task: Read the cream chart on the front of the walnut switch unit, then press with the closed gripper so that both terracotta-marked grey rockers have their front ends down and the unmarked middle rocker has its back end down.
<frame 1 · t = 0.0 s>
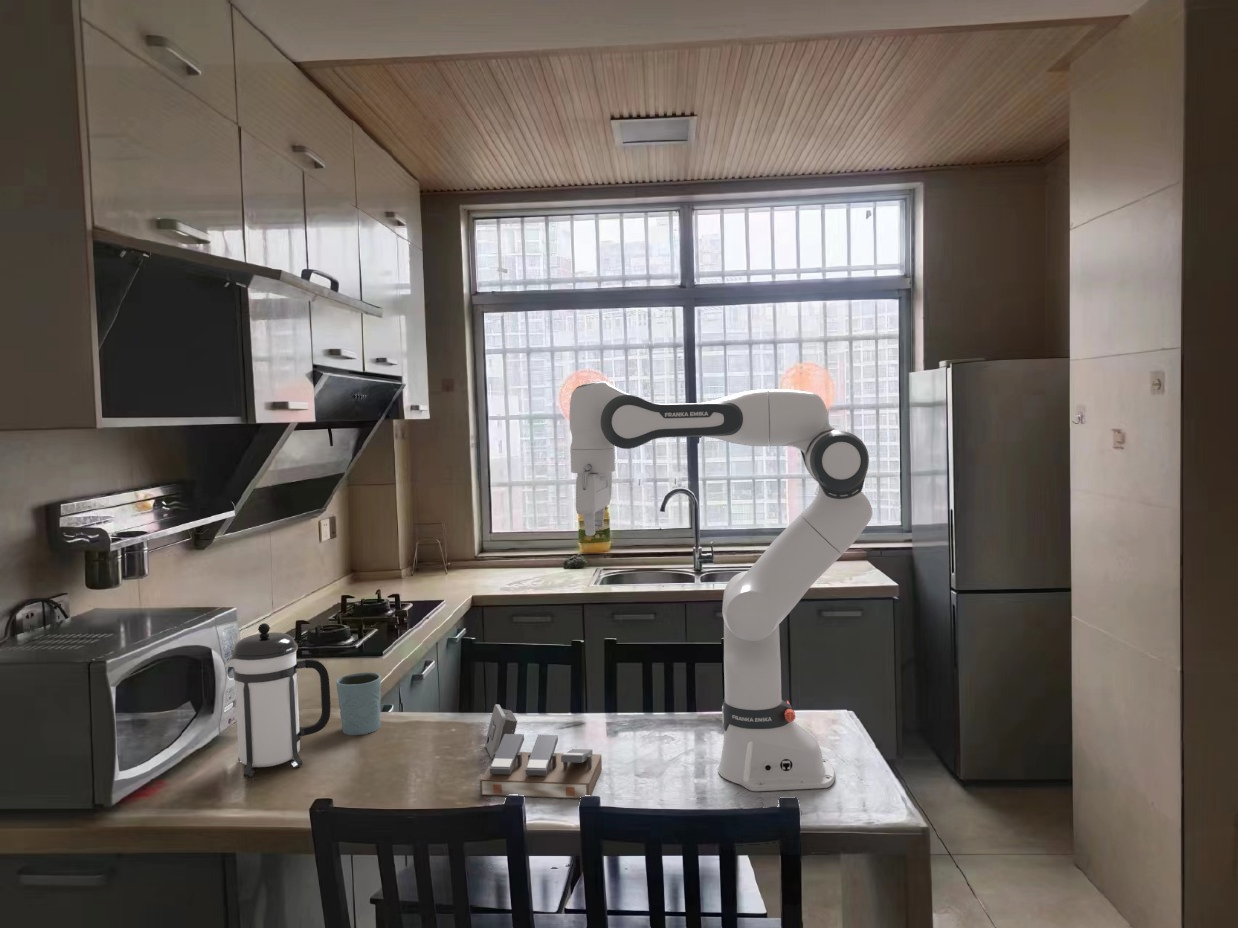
hand: (594, 532, 173), 48 cm above the worktop, tool pointing down, fingers open, 8 cm apart
coffee press: (276, 763, 182), on the worktop
rocker 2: (577, 755, 167), point 5 cm above the worktop, hinge at 15.0°
rocker 1: (507, 753, 169), point 5 cm above the worktop, hinge at -15.0°
rocker middle: (542, 754, 168), point 5 cm above the worktop, hinge at -15.0°
blue embossed cup: (360, 729, 202), on the worktop
electrical switch: (500, 751, 185), on the worktop
switch unit: (543, 781, 169), on the worktop
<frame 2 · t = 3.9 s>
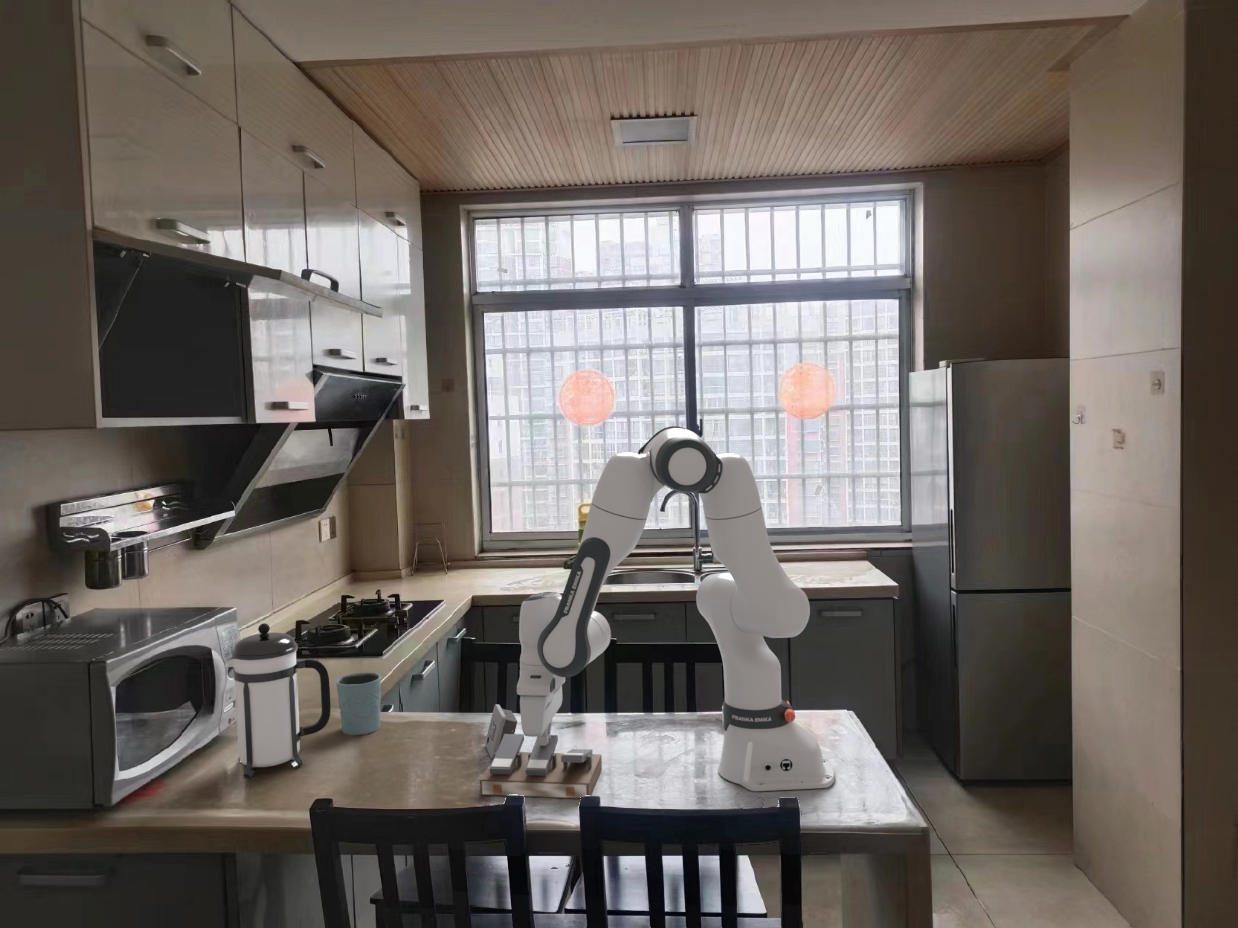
hand: (544, 742, 171), 7 cm above the worktop, tool pointing down, fingers closed, pressing on rocker middle
rocker middle: (542, 754, 168), point 5 cm above the worktop, hinge at -15.0°, touching gripper
everything else where it was.
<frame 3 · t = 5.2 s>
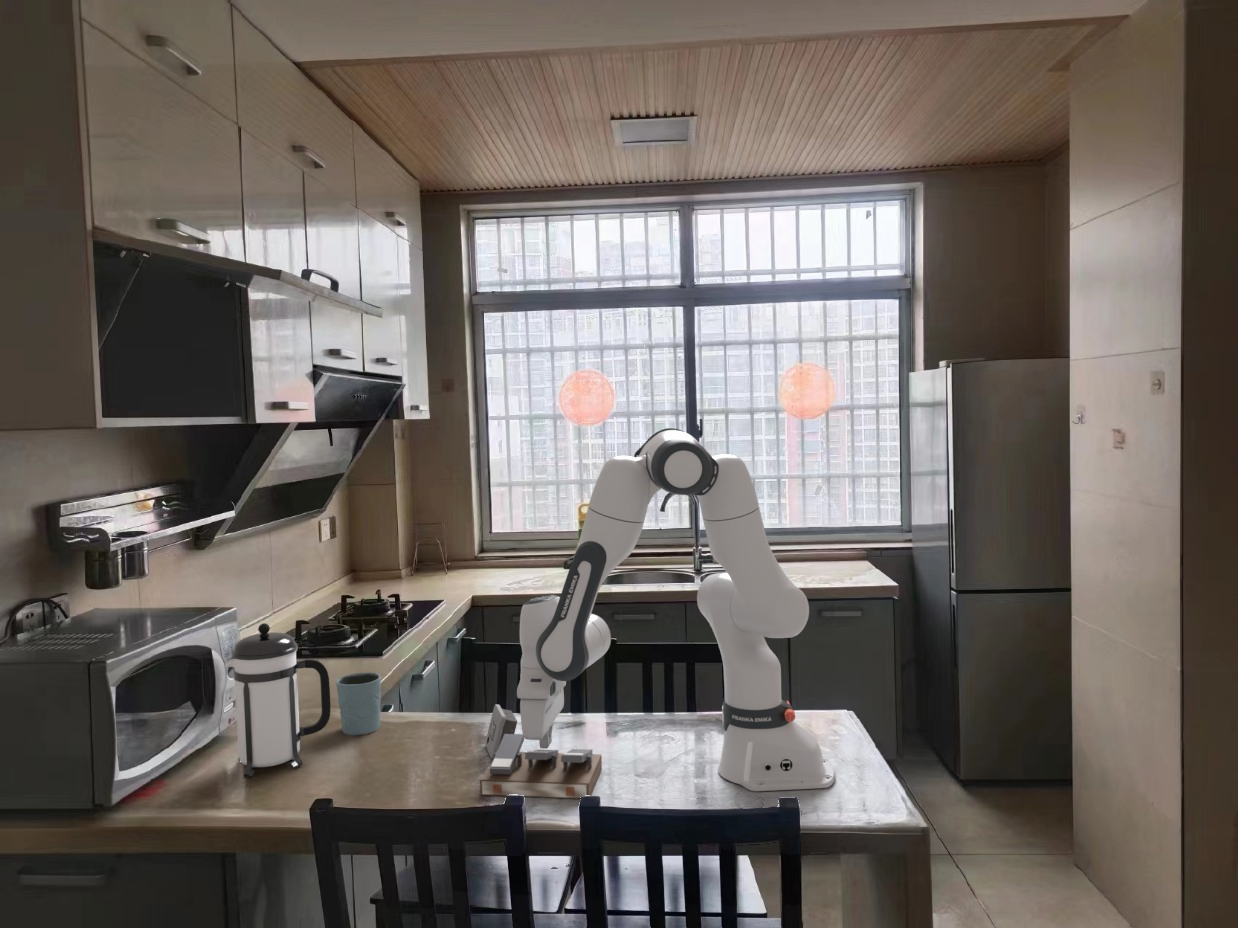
hand: (545, 745, 171), 6 cm above the worktop, tool pointing down, fingers closed
rocker middle: (542, 754, 168), point 5 cm above the worktop, hinge at 18.1°
everything else where it was.
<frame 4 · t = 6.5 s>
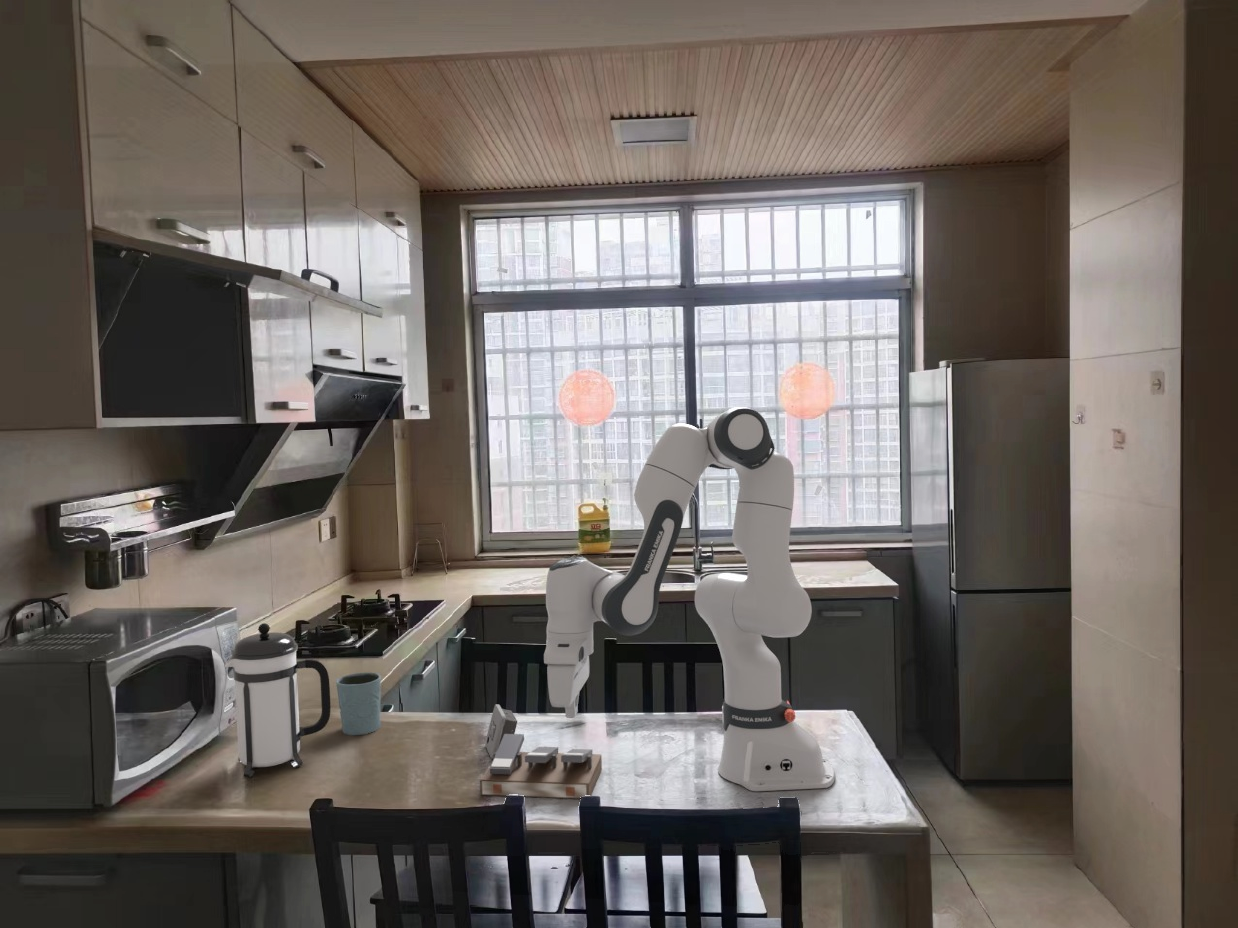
hand: (571, 715, 164), 14 cm above the worktop, tool pointing down, fingers closed
rocker middle: (542, 754, 168), point 5 cm above the worktop, hinge at 12.4°
everything else where it was.
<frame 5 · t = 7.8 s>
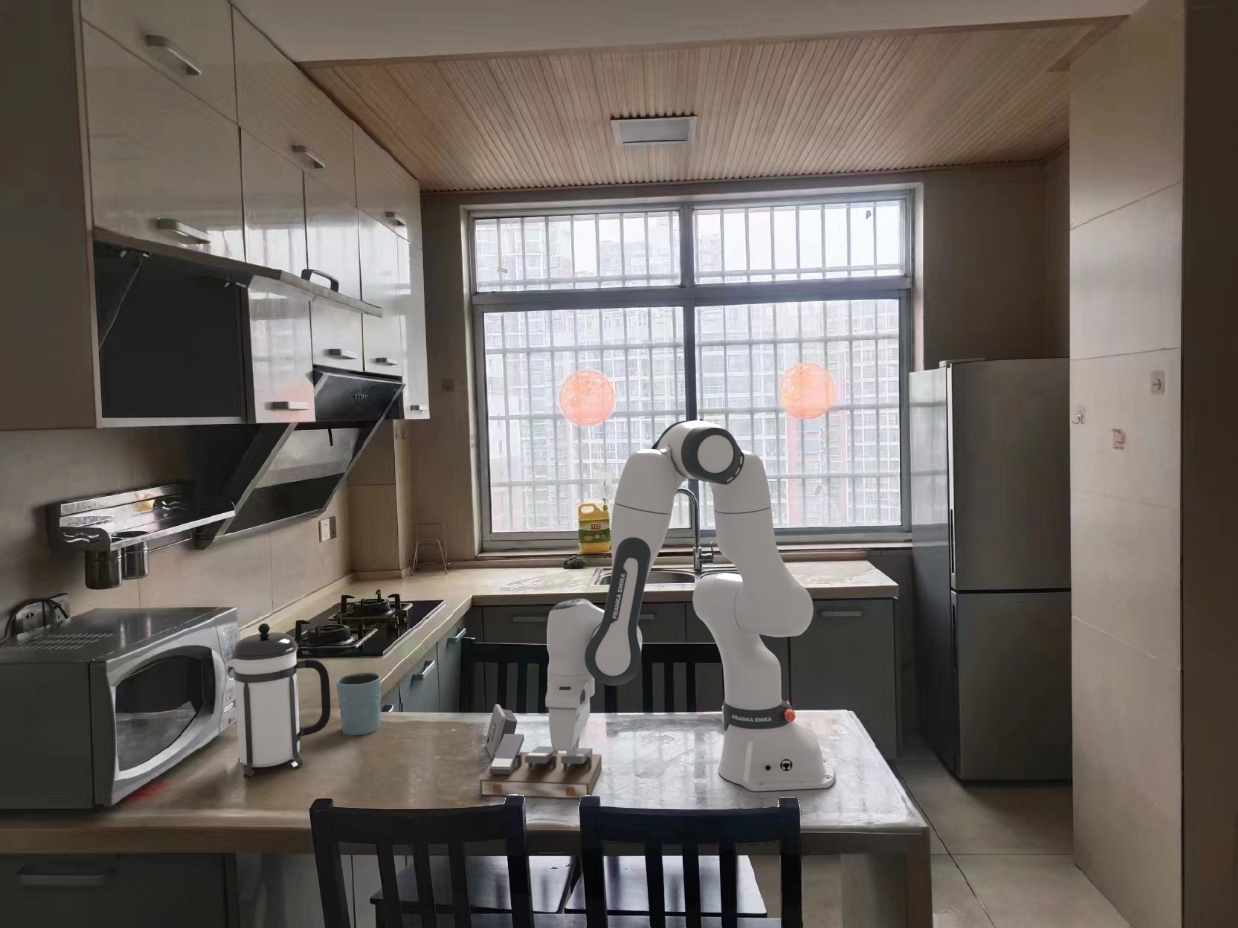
hand: (572, 756, 164), 6 cm above the worktop, tool pointing down, fingers closed, pressing on rocker 2
rocker 2: (577, 755, 167), point 5 cm above the worktop, hinge at 12.8°, touching gripper
rocker middle: (542, 754, 168), point 5 cm above the worktop, hinge at 11.4°
everything else where it was.
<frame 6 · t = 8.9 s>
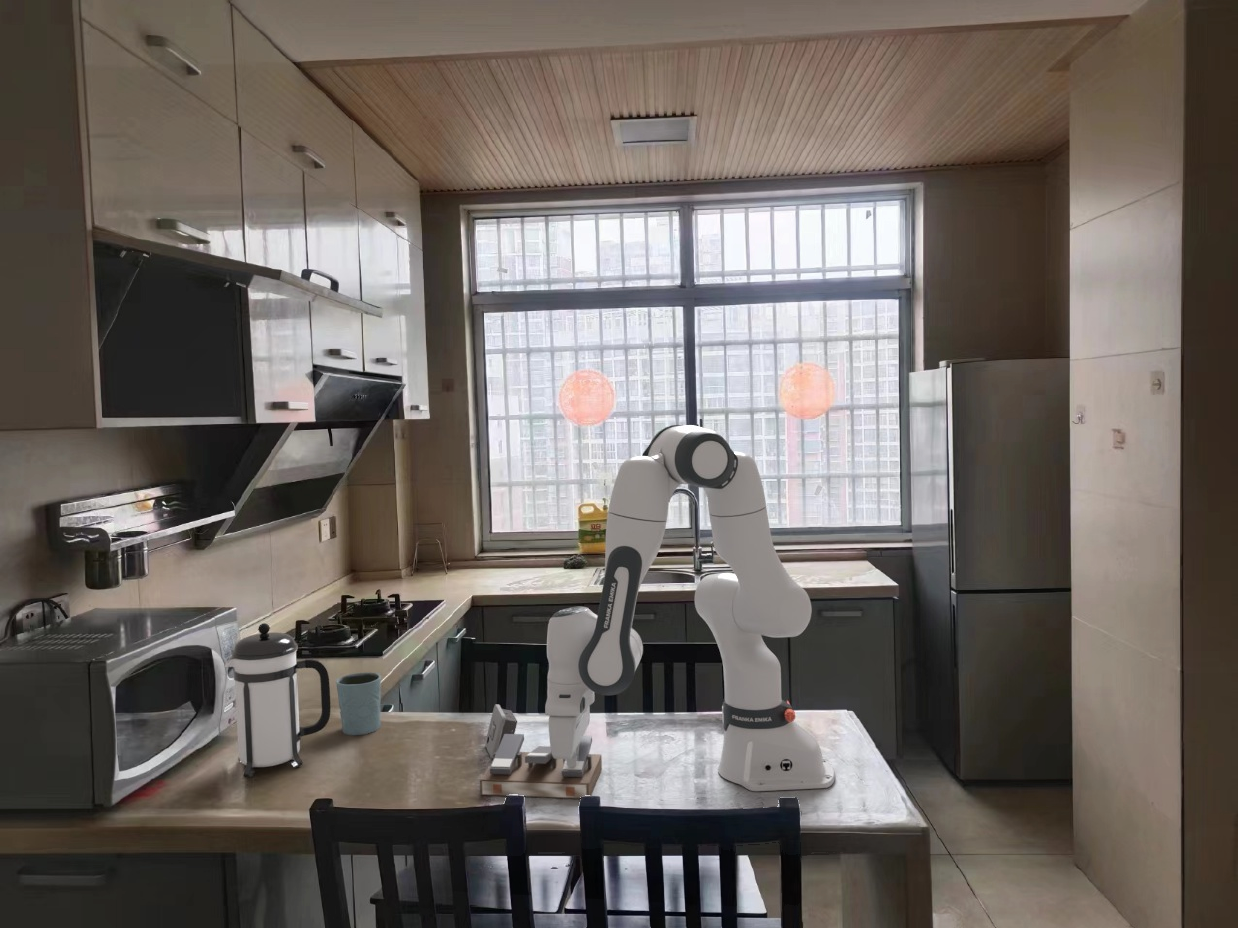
hand: (572, 764, 164), 5 cm above the worktop, tool pointing down, fingers closed, pressing on rocker 2
rocker 2: (577, 755, 167), point 5 cm above the worktop, hinge at -15.5°, touching gripper
everything else where it was.
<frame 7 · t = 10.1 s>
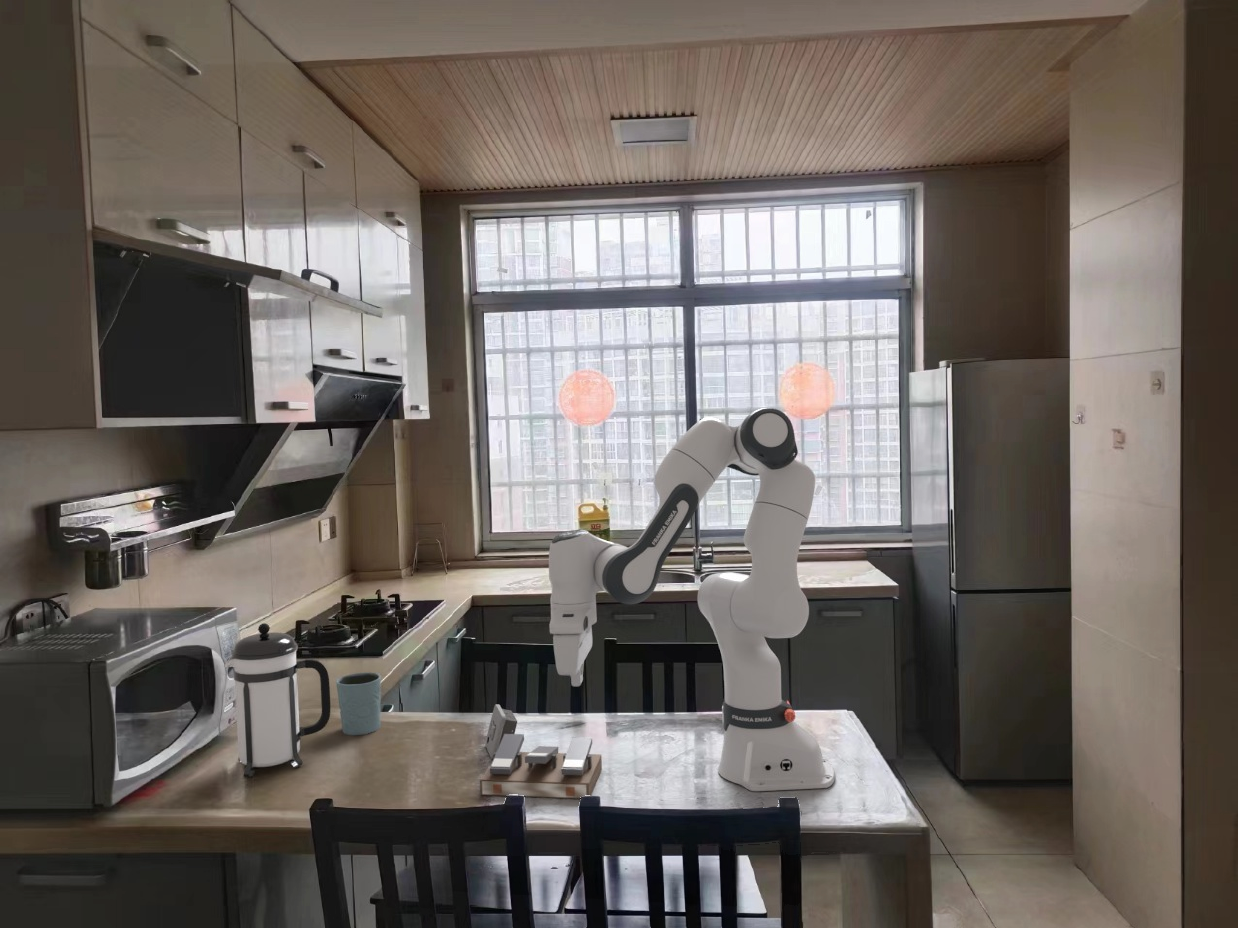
hand: (577, 684, 168), 19 cm above the worktop, tool pointing down, fingers closed
rocker 2: (577, 755, 167), point 5 cm above the worktop, hinge at -10.9°
everything else where it was.
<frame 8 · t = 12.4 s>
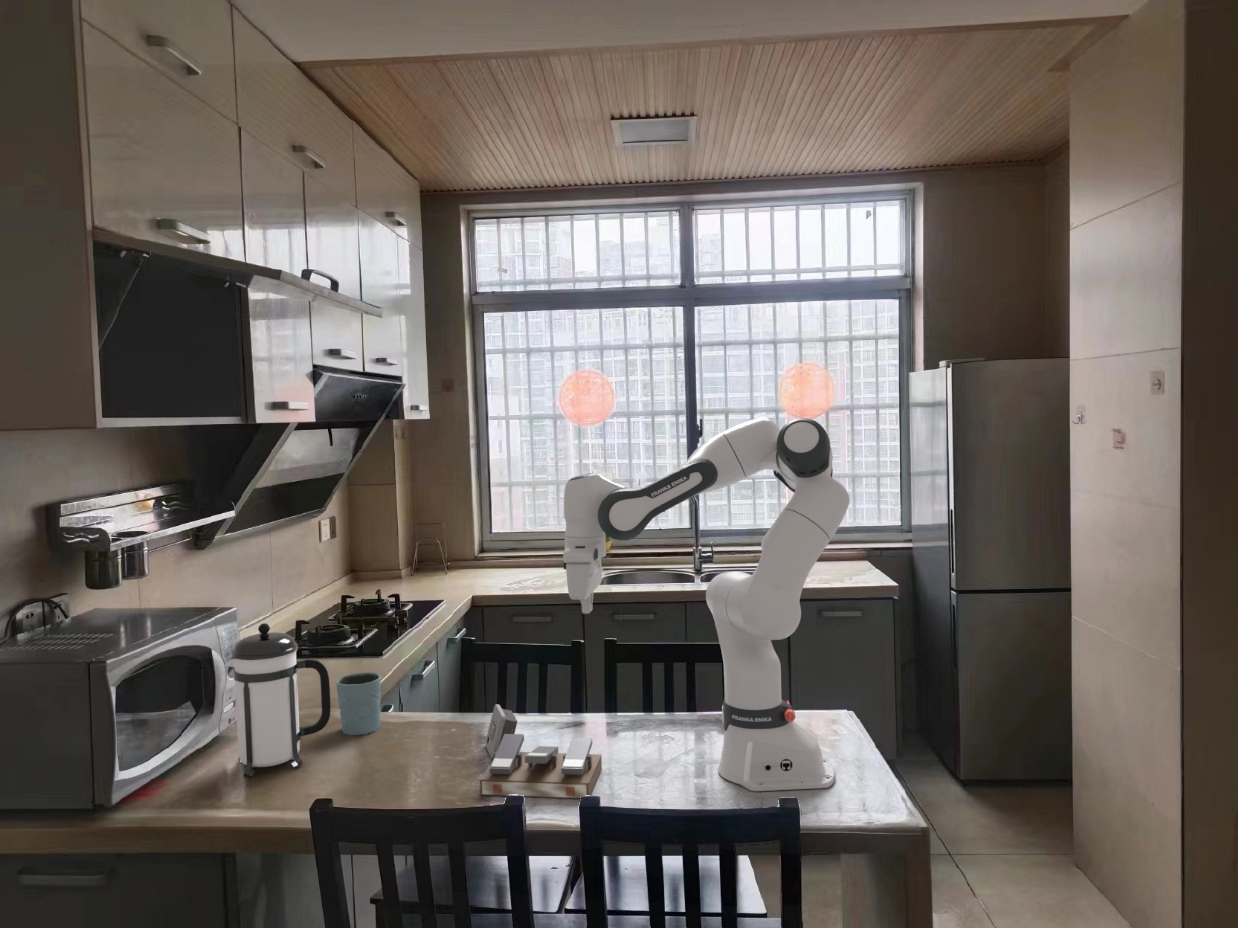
hand: (587, 612, 186), 29 cm above the worktop, tool pointing down, fingers closed
rocker 2: (577, 755, 167), point 5 cm above the worktop, hinge at -9.8°
everything else where it was.
at the end: rocker 2 at -10° (first picture: +15°); rocker middle at +11° (first picture: -15°); rocker 1 at -15° (first picture: -15°) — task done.
